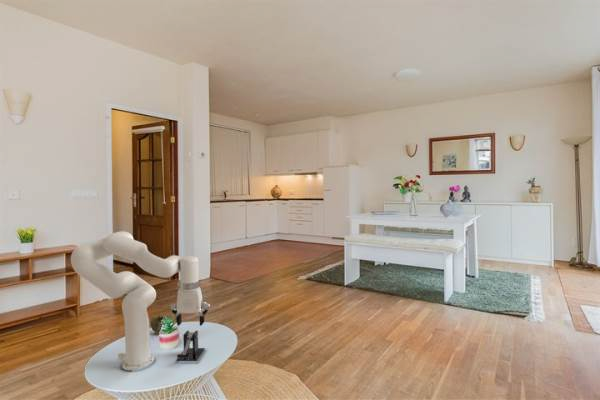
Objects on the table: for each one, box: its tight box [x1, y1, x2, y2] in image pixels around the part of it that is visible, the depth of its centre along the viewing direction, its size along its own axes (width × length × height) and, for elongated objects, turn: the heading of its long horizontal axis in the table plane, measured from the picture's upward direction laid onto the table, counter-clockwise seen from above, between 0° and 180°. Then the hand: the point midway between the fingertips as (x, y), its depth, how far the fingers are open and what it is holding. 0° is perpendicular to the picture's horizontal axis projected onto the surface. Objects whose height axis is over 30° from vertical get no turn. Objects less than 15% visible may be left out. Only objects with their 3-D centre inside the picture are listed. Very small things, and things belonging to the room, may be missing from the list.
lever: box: [176, 331, 195, 359], centre depth 147 cm, size 12×5×2 cm, turn 178°
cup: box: [149, 315, 166, 336], centre depth 176 cm, size 8×7×8 cm
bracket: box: [176, 330, 206, 362], centre depth 151 cm, size 11×9×11 cm
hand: (190, 324), depth 146 cm, fingers open, 9 cm apart
